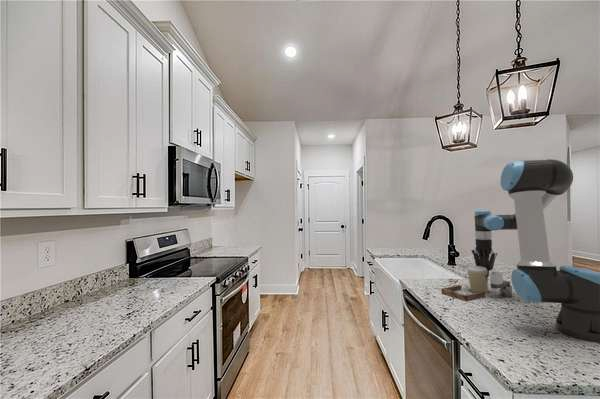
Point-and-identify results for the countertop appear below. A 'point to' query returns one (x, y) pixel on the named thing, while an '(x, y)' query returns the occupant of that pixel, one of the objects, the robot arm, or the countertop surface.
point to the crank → (498, 280)
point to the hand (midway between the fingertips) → (484, 282)
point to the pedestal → (506, 291)
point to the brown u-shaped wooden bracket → (451, 292)
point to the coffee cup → (478, 278)
